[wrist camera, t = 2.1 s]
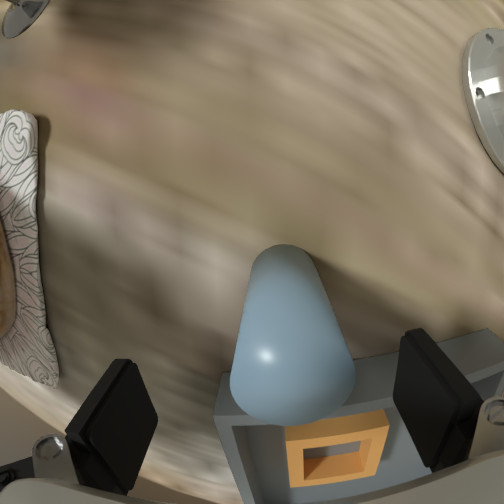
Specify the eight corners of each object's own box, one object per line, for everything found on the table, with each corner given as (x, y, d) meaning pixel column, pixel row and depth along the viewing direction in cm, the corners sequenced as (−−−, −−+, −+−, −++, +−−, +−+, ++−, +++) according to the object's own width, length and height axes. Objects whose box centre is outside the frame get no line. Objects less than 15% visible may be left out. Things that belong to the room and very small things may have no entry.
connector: (313, 240, 18) (358, 324, 8) (317, 302, 19) (351, 418, 9) (246, 248, 18) (219, 339, 8) (254, 308, 19) (240, 428, 9)
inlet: (381, 403, 20) (389, 425, 17) (369, 455, 22) (374, 474, 19) (284, 417, 20) (285, 441, 18) (289, 466, 22) (290, 487, 20)
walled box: (487, 328, 19) (516, 355, 14) (432, 471, 24) (441, 496, 20) (222, 372, 21) (212, 415, 16) (257, 501, 26) (255, 531, 22)
